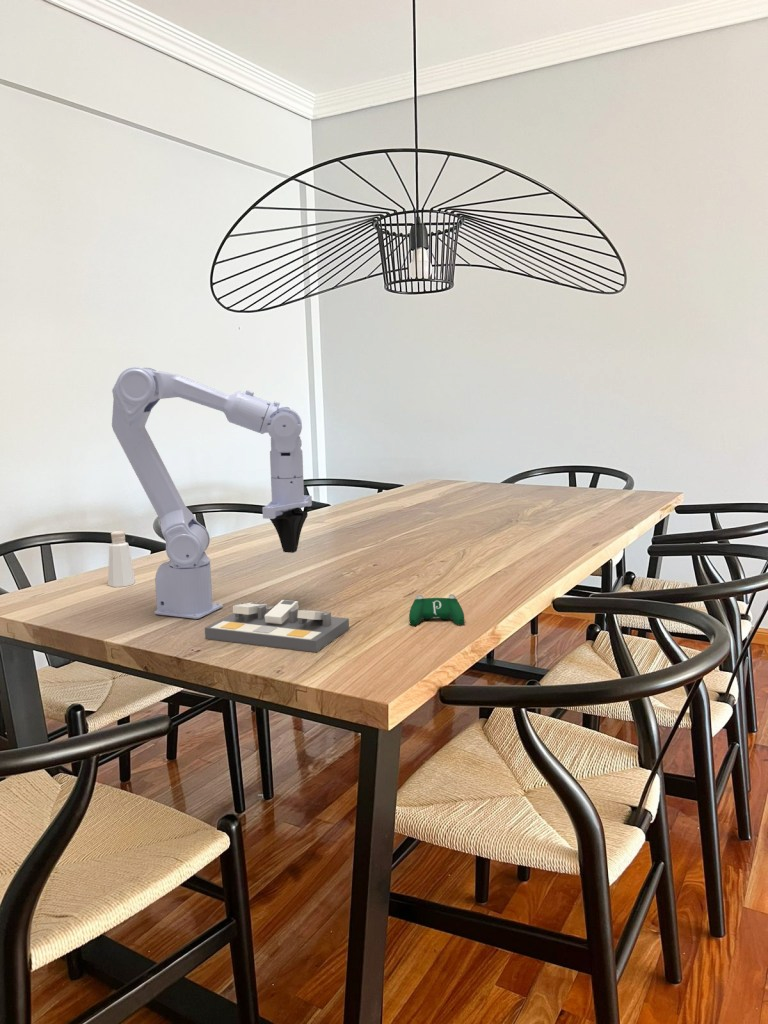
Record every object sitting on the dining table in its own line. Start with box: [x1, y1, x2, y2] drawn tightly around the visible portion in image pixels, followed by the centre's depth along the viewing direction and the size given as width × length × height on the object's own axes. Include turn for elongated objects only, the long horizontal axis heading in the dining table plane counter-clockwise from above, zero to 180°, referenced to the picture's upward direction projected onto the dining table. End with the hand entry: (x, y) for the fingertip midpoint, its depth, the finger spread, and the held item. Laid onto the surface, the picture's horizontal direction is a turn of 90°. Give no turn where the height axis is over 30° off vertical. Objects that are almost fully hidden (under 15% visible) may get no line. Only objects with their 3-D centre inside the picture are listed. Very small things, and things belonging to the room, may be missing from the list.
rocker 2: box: [265, 599, 300, 624], centre depth 130 cm, size 3×6×1 cm, turn 158°
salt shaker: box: [107, 530, 136, 588], centre depth 162 cm, size 5×5×11 cm
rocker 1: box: [232, 601, 268, 615], centre depth 132 cm, size 3×6×1 cm, turn 158°
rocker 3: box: [297, 609, 327, 620], centre depth 128 cm, size 3×6×1 cm, turn 158°
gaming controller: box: [408, 593, 465, 627], centre depth 134 cm, size 9×4×6 cm
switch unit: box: [204, 602, 350, 653], centre depth 129 cm, size 20×12×4 cm, turn 68°
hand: (290, 551), depth 142 cm, fingers closed
